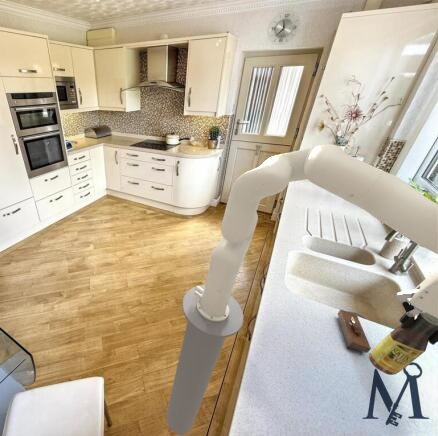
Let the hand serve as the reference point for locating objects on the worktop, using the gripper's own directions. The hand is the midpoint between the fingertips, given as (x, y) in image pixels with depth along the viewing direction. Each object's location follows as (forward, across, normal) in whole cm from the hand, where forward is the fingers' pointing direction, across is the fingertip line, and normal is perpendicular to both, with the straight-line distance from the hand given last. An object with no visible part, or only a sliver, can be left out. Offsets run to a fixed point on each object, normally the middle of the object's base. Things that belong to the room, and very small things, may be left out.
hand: (416, 332), depth 57 cm
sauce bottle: (+15, 0, 0) cm, 15 cm away
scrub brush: (+23, +7, -14) cm, 28 cm away
